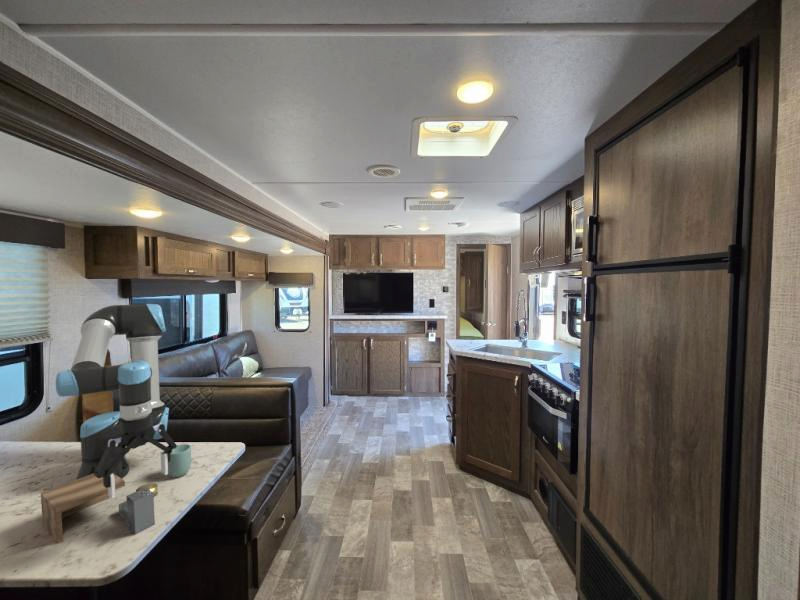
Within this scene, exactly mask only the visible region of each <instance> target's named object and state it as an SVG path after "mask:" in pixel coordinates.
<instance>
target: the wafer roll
mask: <svg viewBox="0 0 800 600" xmlns="http://www.w3.org/2000/svg"><path fill="white" fill-rule="evenodd" d="M104 366H112V359H111V351H110V349H109V348H108V350H107V354H106V359H105V363H104ZM81 396H82V400H81V401H82V402H81V403H82V405H81V408H82V409H81V410H82V419H83V423H84V422H85V421H87V420H88V419H90V418H92V417H95V416H97V415H100V414H103V413H107V412H113V411H114V390H112V391H103V392H97V393H90V394H83V395H81Z"/></svg>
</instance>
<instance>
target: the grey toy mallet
mask: <svg viewBox="0 0 800 600" xmlns="http://www.w3.org/2000/svg"><path fill="white" fill-rule="evenodd" d="M154 498H155V497H154V493H153V492H152V491H151V490H149V489H148V488H146V487H145V488H143V489H141V490H139V491H136V490H135V491H134V492H132V493H130V494H128V495H126V501H123V502H121V503H119V504H118V515H120V514H121V515H122V516H123V517H124V518H123V517H122V516H121V515H120V516H121V517H122V518H123V519H124V520H126V521H127V528H128V530H130V531H131V532H132V533H133V534H134V535H137V534H140V533H141V532H143V531H145V530H147V529H149V528H151V527H152V526H154V525H156V524H155V523H156V520H155V499H154Z"/></svg>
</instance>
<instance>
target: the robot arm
mask: <svg viewBox="0 0 800 600" xmlns="http://www.w3.org/2000/svg"><path fill="white" fill-rule="evenodd" d="M164 319H165V318H164V315H163V309H162V307H161V305H160V304H157V303H155V304H154V303H138V304H137V303H136V304H114V305H108V306H105V307H102V308H100V309H98V310H96V311H94V312H92V313H91V314H90V315H88V317H86V318H85V320H83V323H82V325H81V327H80V334H81V338H80V340H79V341H80V342H79V345H78V347H77V351H76V353H75V356H74V358H73V361H72V364H71V367H70V369H66V370H62V371H59V372H58V373H57V374H56V377H55V391H56V394H57V395H58V396H59V397H63V398H65V397H73V396H74V397H76V396H77V397H78V396H82V395H83V394H90V393H97V392H103V391H112V390H113V391H118V396H119V410H118V411H117V410H115V411H114V410H113V412H107V413H103V414H100V415H97V416H95V417H92V418H90V419H88V420H87V421H85V422H84V421H83V423H82V424H81V425H80V435H79V439H80V450H81V465H80V467H79V470H78V473H77V476H76V478H75V480H77V479H80V478H83V477H86V476H88V475H91V474H94V475H95V476H96V477H97V478H101V477H103V485H104V487H106V488H108V496H109V498H111V499H115V498H116V490H115V478H114V475H113V474H112V473H114V474H115V475H117V476H118V477H120V478H121V479H123V478H124V477H126V476H127V475H128V474H129V473H130V464H129V463H130V462H128V459H127V457H126V455H127V454H128V453H129V452H130V451H131V450H132V449H137V448H139V447H142V446H145V445H146V444H147V443H148V442H149V443H150V444H152V445H154V447H157V448H158V449H160V450H161V452H160V468H161V469H160V470H161V471H160V472H161V473H162V474H163V475H165V476H167V475H169V473H168V462H170V460H171V458H170V453H172V449H175V448H176V447H177V445H178V444H176V442H175V441H174V440H173V439H172V437H171V436H170V435H169V433H168V432H167V429H168V422H169V421H168V419H169V410H170V408H169V407H165V403H164V402H163V401H162V400H161V397H160V375H159V374H160V373H159V368H160V367H159V348H158V347H159V345H158V341H159V340H160V339H161V338H162V336H163V333H165V332H166V331H167V329H166V325H165V320H164ZM118 335H119V336H120V335H125V340H127V341H128V342H129V343H130V351H131V357H130V358H131V362H128V363H124V364H116V365H111V366H104V363H105V359H106V354H107V350H108V349H109V345H110V339H112V338H113V337H114V336H118ZM160 439H163V440H164V441H165V443H166V445H167V446H166V445H164V444H163V443H161V442H160V441H158V440H160Z"/></svg>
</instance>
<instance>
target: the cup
mask: <svg viewBox="0 0 800 600" xmlns="http://www.w3.org/2000/svg"><path fill="white" fill-rule="evenodd" d="M176 445H177V447H176V448H175V449H172V453H170V458H171V460H170V462H168V475H169V476H170V477H172V478H181V477H182V476H183V477H184V476H185V475H186V474H188V472H189V471H190V469H191V465H192V447H191V445H190V444H188V443H187V444H186V443H183V444H182V443H181V444H176Z"/></svg>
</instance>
